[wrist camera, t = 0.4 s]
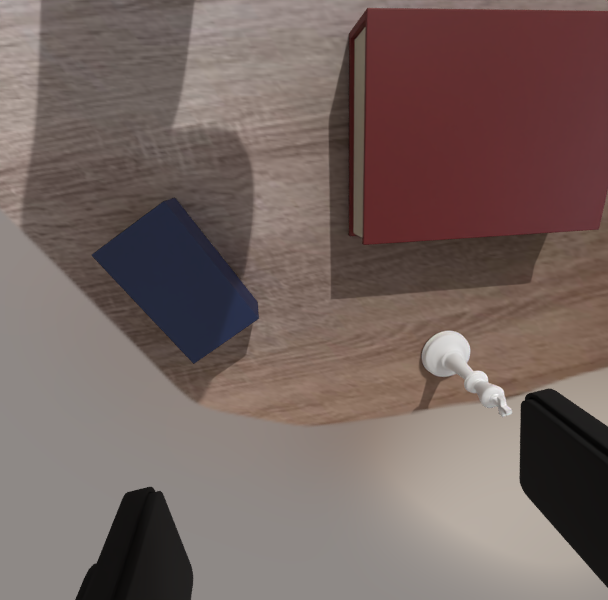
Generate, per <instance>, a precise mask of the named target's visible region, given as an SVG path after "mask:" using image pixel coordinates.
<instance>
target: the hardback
mask: <svg viewBox="0 0 608 600" xmlns="http://www.w3.org/2000/svg"><path fill="white" fill-rule="evenodd" d="M607 190H608V11H562V10H487V9H413V8H367V9H366V11H365V12H364V14H363V15H362V16H361V18H360V19H359V21H358V22H357V23H356V25H355V26H354V27H353V29H352V30H351V31H350V33H349V236H360V237H361V238H362V244H363V245H369V244H384V243H400V242H415V241H430V240H445V239H461V238H476V237H491V236H507V235H522V234H537V233H552V232H568V231H583V230H598V229H599V226H600V222H601V217H602V213H603V208H604V204H605V199H606V195H607Z"/></svg>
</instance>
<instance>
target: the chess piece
mask: <svg viewBox="0 0 608 600" xmlns="http://www.w3.org/2000/svg"><path fill="white" fill-rule="evenodd" d="M469 357H470V346H469V343H468V342H467V340H466V339H465V338H464V337H463V336H462V335H461V334H460V333H458V332H455V331H443V332H440V333H438V334H436V335H434V336H433V337H432V338H430V339H429V340H428V342H427V343H426V344H425V346H424V348H423V351H422V363H423V365H424V367H425V368H426V369H427V370H428V371H429V372H431V373H432V374H434V375H436V376H440V377H447V376H451V375H454V374H458V375H459V376H461V377H462V378H463V379H465V381H464V386H465V389H466V390H467V391H469V392H471V393H477V394H478V396H479V399H480V402H481V403H482V405H483V406H485V407H487V408H493V407H496V406H497V407H498V411H499V414H500V415H501V416H502V417H504V416H507V415H510V414H512V409H511V408H510V407H509V406H507V405H506V398H505V397H504V391H503V389H502V388H500V387H499V386H496V385H493V384H490V383H488V377H487V375H486V374H485V373H484V372H482V371H473V370H472V369H471V368H470V367H469V366H468V364H467V362H468V360H469Z"/></svg>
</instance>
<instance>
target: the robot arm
mask: <svg viewBox="0 0 608 600" xmlns="http://www.w3.org/2000/svg"><path fill="white" fill-rule="evenodd" d="M520 484H521V486H522V489H523V491H524V492H525V494H526V495H527V496H528V498H529V499H530V500H531V501H532V502H533V503H534V505H535V506H536V507H537V508H538V509H539V510H540V511H541V512H542V514H543V515H544V516H545V517H546V518H547V519H548V520H549V521H550V523H551V524H552V525H553V526H554V527H555V528H556V530H557V531H558V532H559V533H560V534H561V535H562V536H563V537H564V539H565V540H566V541H567V542H568V543H569V544H570V545H571V547H572V548H573V549H574V550H575V551H576V552H577V553H578V555H579V556H580V557H581V558H582V559H583V560H584V561H585V562H586V564H587V565H588V566H589V567H590V568H591V569H592V570H593V572H594V573H595V574H596V575H597V576H598V577H599V578H600V580H601V581H602V582H603V583H604V584H605V585H606V586H607V587H608V427H607V426H606V425H605V424H603V423H602V422H600V421H599V420H597V419H596V418H595V417H593V416H591V415H590V414H589V413H587V412H586V411H584V410H583V409H581V408H580V407H579V406H577V405H576V404H574V403H573V402H571V401H570V400H568V399H567V398H565V397H564V396H563V395H561V394H560V393H558V392H557V391H555V390H553V389H545V390H541V391H537V392H533V393H529V394H527V395H526V397H525V401H523V402H522V403H521V428H520ZM192 586H193V572H192V567H191V564H190V562H189V559H188V556H187V554H186V551H185V549H184V546H183V544H182V541H181V539H180V536H179V534H178V531H177V528H176V526H175V523H174V521H173V518H172V516H171V513H170V511H169V508H168V506H167V503H166V500H165V498H164V496H163V493H162V492H161V491H157V492H155V490H154V489H153V488H152V487H147V488H143V489H139V490H135V491H131V492H127V493H126V494H125V495H124V497H123V499H122V501H121V504H120V507H119V509H118V511H117V514H116V516H115V519H114V521H113V524H112V526H111V529H110V532H109V534H108V536H107V539H106V541H105V544H104V547H103V549H102V551H101V555H100V556H99V559H98V561H97V563H96V564H94V565H93V566H92V567H91V568H90V569H89V570H88V572H87V574H86V576H85V578H84V580H83V583H82V585H81V587H80V590H79V592H78V595H77V597H76V599H75V600H191V594H192Z"/></svg>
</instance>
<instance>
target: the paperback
mask: <svg viewBox="0 0 608 600" xmlns="http://www.w3.org/2000/svg"><path fill="white" fill-rule="evenodd" d="M92 256H93V257H94V259H95V260H96V261H97V262H98V263H99V264H100V265H101V266H102V267H103V268H104V269H105V270H106V271H107V272H108V273H109V274H110V276H111V277H112V278H113V279H114V280H115V281H116V282H117V283H118V284H119V285H120V286H121V287H122V288H123V289H124V290H125V291H126V293H127V294H128V295H129V296H130V297H131V298H132V299H133V300H134V301H135V302H136V303H137V304H138V305H139V306H140V307H141V308H142V309H143V311H144V312H145V313H146V314H147V315H148V316H149V317H150V318H151V319H152V320H153V321H154V322H155V323H156V324H157V325H158V326H159V328H160V329H161V330H162V331H163V332H164V333H165V334H166V335H167V336H168V337H169V338H170V339H171V340H172V341H173V342H174V343H175V345H176V346H177V347H178V348H179V349H180V350H181V351H182V352H183V353H184V354H185V355H186V356H187V357H188V358H189V359H190V360H191V361H192V363H193V364H194V363H196V362H197V361H199V360H200V359H201V358H203V357H204V356H206V355H207V354H209V353H210V352H212V351H213V350H214V349H216V348H217V347H219V346H220V345H222V344H223V343H224V342H226V341H227V340H229V339H230V338H232V337H233V336H234V335H236V334H237V333H239V332H240V331H242V330H243V329H244V328H246V327H247V326H249V325H250V324H252V323H253V322H255V321H256V320H257V319H259V315H258V302H257V301H256V299H255V298H254V297H253V295H252V294H251V293H250V292H249V290H248V289H247V288H246V287H245V285H244V284H243V283H242V282H241V280H240V279H239V278H238V277H237V275H236V274H235V273H234V272H233V270H232V269H231V268H230V266H229V265H228V264H227V263H226V261H225V260H224V259H223V258H222V256H221V255H220V254H219V253H218V251H217V250H216V249H215V248H214V246H213V245H212V244H211V243H210V241H209V240H208V239H207V237H206V236H205V235H204V234H203V232H202V231H201V230H200V229H199V227H198V226H197V225H196V224H195V222H194V221H193V220H192V219H191V217H190V216H189V215H188V214H187V212H186V211H185V210H184V208H183V207H182V206H181V205H180V203H179V202H178V201H177V200H176V198H172V199H169V200H166V201H163V202H162V203H161V204H159V205H158V206H157V207H155V208H154V209H153V210H151V211H150V212H149V213H147V214H146V215H145V216H143V217H142V218H140V219H139V220H138V221H136V222H135V223H134V224H132V225H131V226H130V227H128V228H127V229H126V230H124V231H123V232H122V233H120V234H119V235H118V236H116V237H115V238H114V239H112V240H111V241H110V242H108V243H107V244H105V245H104V246H103V247H101V248H100V249H99V250H97V251H96V252H95V253H93V254H92Z"/></svg>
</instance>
